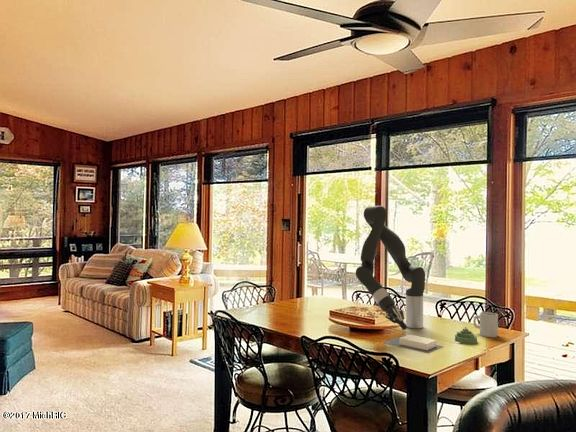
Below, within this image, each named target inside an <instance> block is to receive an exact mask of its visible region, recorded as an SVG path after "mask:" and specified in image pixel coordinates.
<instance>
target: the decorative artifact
mask: <svg viewBox="0 0 576 432" xmlns="http://www.w3.org/2000/svg"><path fill="white" fill-rule="evenodd" d="M464 327H465V328H462V330H460V331H456V334H454V341H455V342H459V343H460V344H465V345H475V344H477V343H478V336H477V335H475V334H474V332H473V331H471V330H469V328H467V327H466V326H464Z"/></svg>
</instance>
